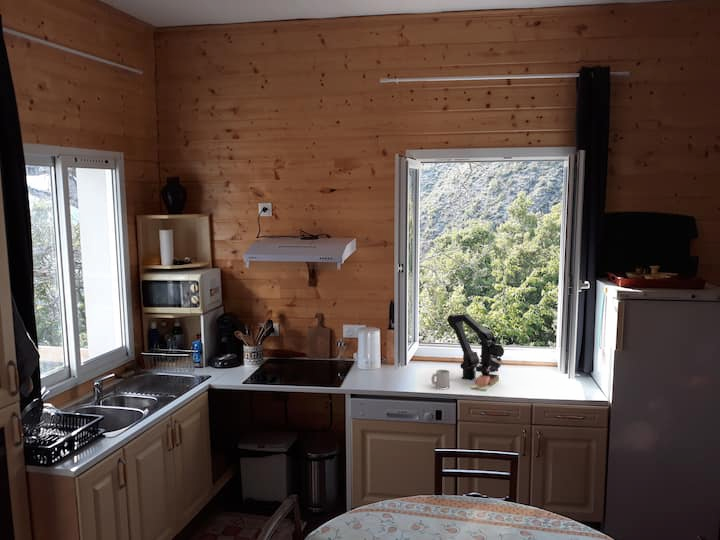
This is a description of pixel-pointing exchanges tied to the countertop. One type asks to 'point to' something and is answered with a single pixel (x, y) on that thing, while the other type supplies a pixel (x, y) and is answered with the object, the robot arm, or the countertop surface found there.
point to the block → (483, 380)
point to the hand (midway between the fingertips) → (486, 380)
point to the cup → (441, 378)
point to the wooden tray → (493, 380)
